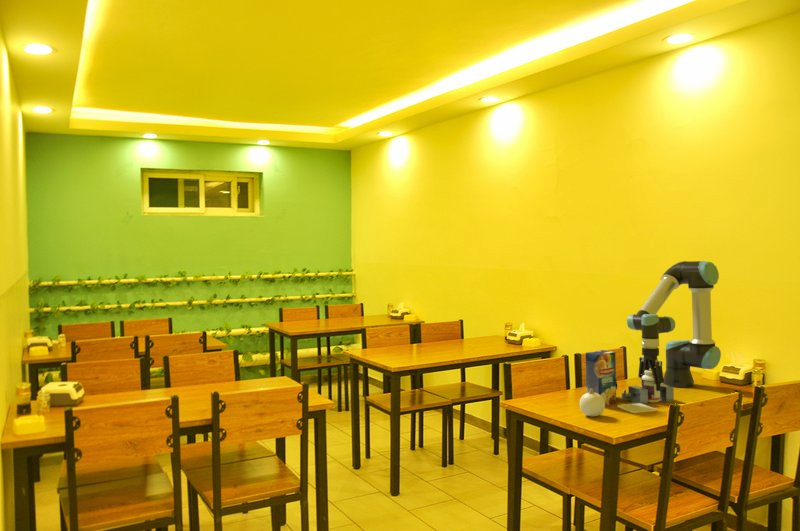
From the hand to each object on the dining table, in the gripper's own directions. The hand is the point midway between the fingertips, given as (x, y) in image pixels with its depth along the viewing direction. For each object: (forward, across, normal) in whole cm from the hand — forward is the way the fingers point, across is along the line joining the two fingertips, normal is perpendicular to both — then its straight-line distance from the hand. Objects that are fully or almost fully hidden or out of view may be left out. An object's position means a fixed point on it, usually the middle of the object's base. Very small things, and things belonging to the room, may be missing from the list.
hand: (650, 395), depth 302 cm
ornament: (+3, +14, -40) cm, 42 cm away
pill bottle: (+3, 0, 0) cm, 3 cm away
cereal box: (+3, -4, -24) cm, 25 cm away
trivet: (+3, +10, -15) cm, 18 cm away
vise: (+3, -3, -3) cm, 5 cm away
